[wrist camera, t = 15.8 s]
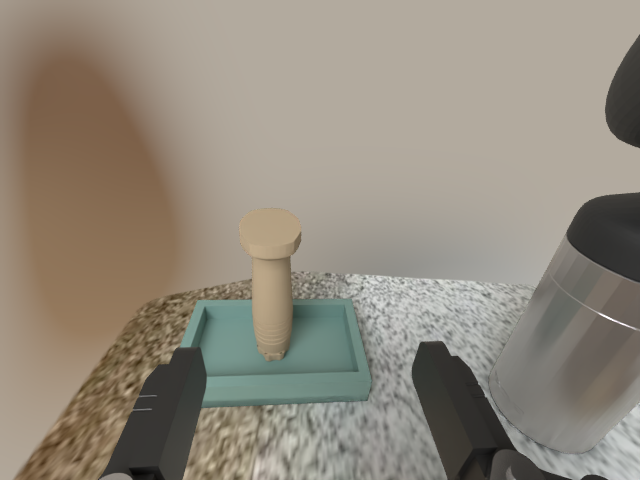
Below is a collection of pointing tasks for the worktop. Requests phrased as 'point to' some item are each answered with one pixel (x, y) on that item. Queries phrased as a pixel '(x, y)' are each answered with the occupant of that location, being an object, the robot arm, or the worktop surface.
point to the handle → (271, 276)
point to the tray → (298, 363)
